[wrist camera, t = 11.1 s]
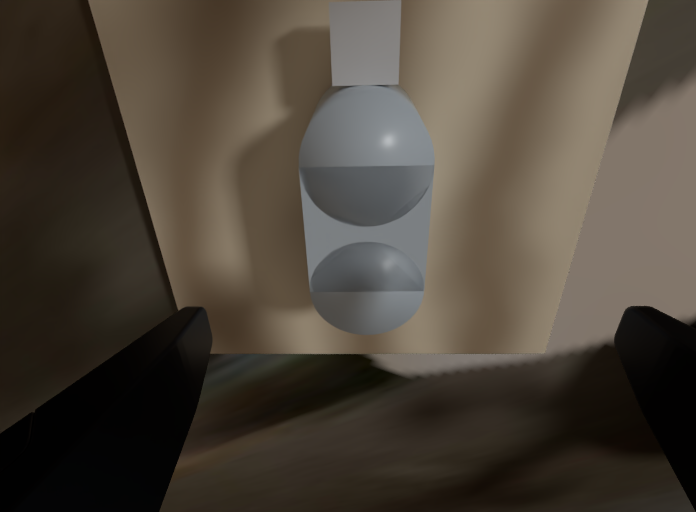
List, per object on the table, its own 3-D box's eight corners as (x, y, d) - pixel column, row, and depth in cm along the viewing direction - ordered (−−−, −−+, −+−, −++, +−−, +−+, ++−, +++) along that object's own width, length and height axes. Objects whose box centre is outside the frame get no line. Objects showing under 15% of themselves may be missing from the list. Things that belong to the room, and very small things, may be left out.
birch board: (659, -107, 14) (682, -116, 13) (537, 339, 25) (544, 353, 24) (81, -87, 15) (61, -94, 14) (197, 339, 25) (190, 353, 24)
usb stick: (409, 275, 21) (420, 334, 17) (321, 276, 21) (313, 335, 18) (426, -1, 15) (447, -2, 11) (302, 2, 15) (284, 3, 11)
